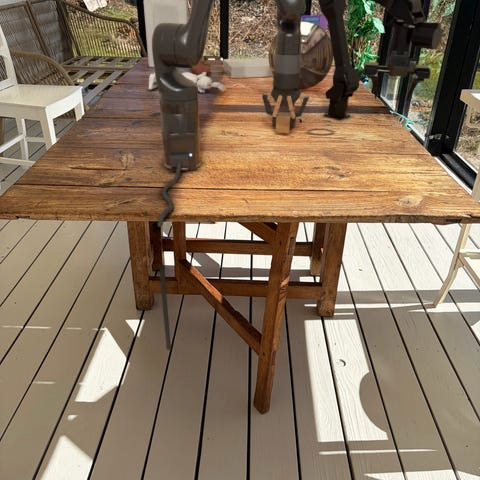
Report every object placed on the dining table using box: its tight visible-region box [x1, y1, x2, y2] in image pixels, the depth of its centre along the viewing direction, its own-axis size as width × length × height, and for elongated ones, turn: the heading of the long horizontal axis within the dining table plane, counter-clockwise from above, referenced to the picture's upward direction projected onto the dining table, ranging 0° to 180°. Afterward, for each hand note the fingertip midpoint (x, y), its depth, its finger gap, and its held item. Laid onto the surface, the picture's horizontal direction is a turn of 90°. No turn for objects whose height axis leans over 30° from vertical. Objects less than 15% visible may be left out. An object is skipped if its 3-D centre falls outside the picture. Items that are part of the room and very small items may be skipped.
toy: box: [148, 71, 227, 94], centre depth 184 cm, size 24×25×7 cm
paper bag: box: [143, 0, 189, 68], centre depth 223 cm, size 19×15×28 cm
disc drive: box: [222, 57, 274, 79], centre depth 214 cm, size 18×22×5 cm
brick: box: [275, 111, 291, 134], centre depth 142 cm, size 5×4×5 cm
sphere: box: [268, 21, 334, 91], centre depth 185 cm, size 25×25×25 cm
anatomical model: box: [188, 55, 212, 76], centre depth 208 cm, size 13×9×15 cm
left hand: (283, 128), depth 143 cm, fingers closed on brick, 4 cm apart
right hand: (391, 99), depth 145 cm, fingers open, 9 cm apart
